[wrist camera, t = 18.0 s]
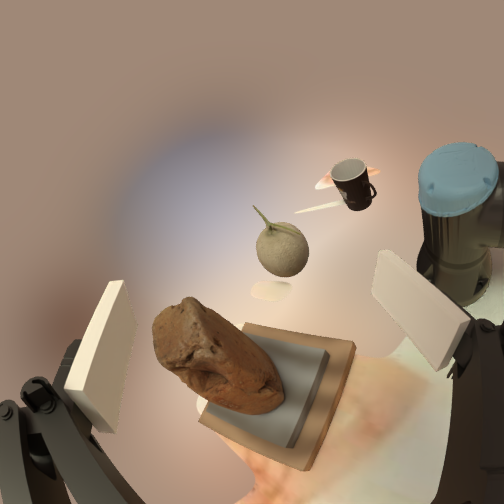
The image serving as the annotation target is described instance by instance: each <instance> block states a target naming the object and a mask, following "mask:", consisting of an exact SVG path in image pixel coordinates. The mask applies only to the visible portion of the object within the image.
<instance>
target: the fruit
mask: <svg viewBox="0 0 504 504" xmlns="http://www.w3.org/2000/svg"><path fill="white" fill-rule="evenodd" d="M253 207H254V208H255V210H256V211H257V212H258V213H259V215H260V216H261V217H262V218H263V220H264V221H265V223H266V228H265V229H264V230H263V231H262V232H261V233H260V235H259V238H258V240H257V242H256V243H257V244H256V250H257V255H258V259H259V261H260V262H261V264H262V265H263V266H264V268H265V269H266V270H267V271H269V272H270V273H272V274H274V275H276V276H280V277H291V276H294V275H296V274H298V273H299V272H300V271H301V270H302V269H303V268H304V267H305V265H306V263H307V260H308V257H309V247H308V244H307V241H306V239H305V237H304V235H303V234H302V233H301V231H300V230H298V229H297V228H296V227H295V226H294V225H292V224H290V223H285V222H278V223H274V224H273V223H270V222H269V221H268V220H267V219H266V218H265V217H264V215H263V214H262V213H261V212H260V211H259V210H258V209H257V208H256V207H255V206H254V205H253Z"/></svg>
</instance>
